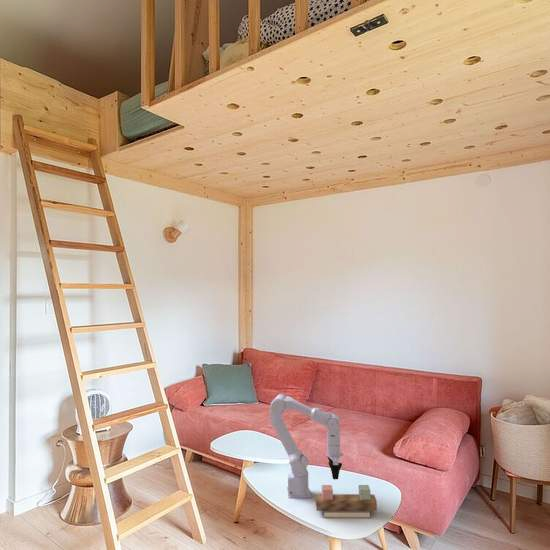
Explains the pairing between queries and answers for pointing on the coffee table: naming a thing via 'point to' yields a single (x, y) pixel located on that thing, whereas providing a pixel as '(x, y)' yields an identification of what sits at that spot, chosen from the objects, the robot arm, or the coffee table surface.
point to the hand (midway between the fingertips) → (334, 475)
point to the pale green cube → (364, 492)
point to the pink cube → (327, 492)
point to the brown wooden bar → (346, 503)
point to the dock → (346, 513)
